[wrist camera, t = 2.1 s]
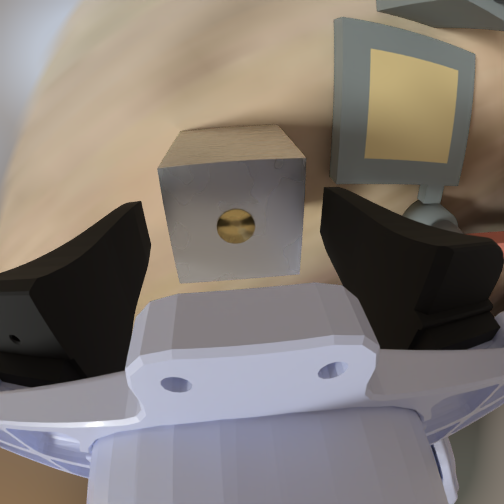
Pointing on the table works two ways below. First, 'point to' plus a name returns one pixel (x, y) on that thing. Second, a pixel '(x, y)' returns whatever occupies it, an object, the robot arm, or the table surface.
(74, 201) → the table surface
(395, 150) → the press
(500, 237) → the lever
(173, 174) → the block
